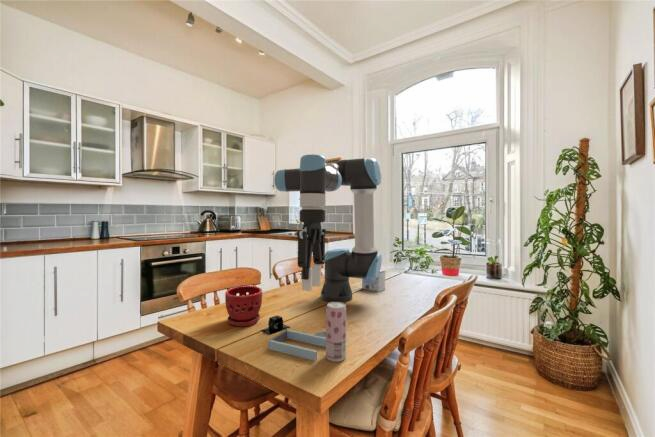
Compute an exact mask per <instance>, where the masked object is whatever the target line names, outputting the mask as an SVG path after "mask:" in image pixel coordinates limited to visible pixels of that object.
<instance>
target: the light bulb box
mask: <svg viewBox="0 0 655 437" xmlns="http://www.w3.org/2000/svg"><path fill="white" fill-rule="evenodd" d="M361 289H364V290H370V291H373V292H377V293H378V292H383V291H384V290H386V269H383V268H380V272H379V275H378V277H377V278H376V279H367V280H366V279H361Z"/></svg>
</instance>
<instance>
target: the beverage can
mask: <svg viewBox="0 0 655 437" xmlns="http://www.w3.org/2000/svg"><path fill="white" fill-rule="evenodd" d="M346 306H347V305H346V304H345V302H328V303H327V304H326V308H325V309H326V310H325V311H326V312H325V313H326V315H325V316H326V317H325V326H326V327H325V332H326V347H325V358H326V359H327V360H328V361H330V362H335V363H338V362H342V361H344V360H345V359H346V357H347V307H346Z"/></svg>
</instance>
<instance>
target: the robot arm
mask: <svg viewBox="0 0 655 437" xmlns="http://www.w3.org/2000/svg"><path fill="white" fill-rule="evenodd" d="M299 159H300V161H299V168H288V169H286V168H284V169H278V170H277V171H276V173H275V174H274V179H273V180H274V186H275V188H276V189H277V191H279V192H286V193H289V192H299V198H298V200H299V207H300V208H301V209H300V210H299V222H300V223H303V225H302V230H297V232H296V236H297V266H298V268H301V270H302V272H301V273H302V274H301V275H302V277H301V278H302V279H301V280H302V283H301V291H308V292H312V290H313V287H321V286H322V288H321V291H320V300H323V301H325V302H328V303H331V302H341V303H345V302H349V301H351V300H353V291H352V288H351V285H350V278H353V279H361V280H362V279H366V280H367V279H376V278H377V277H378V275H379V272H380V269H382V262H383V261H382V259H383V258H382V254H380V253H378V249H377V247H376V246H375V230H374V229H375V228H374V227H375V226H374V225H375V223H374V222H375V221H374V218H375V217H374V193H375V192H376V191H377V189H378V187H377V186H380V185H381V182H382V175H381V174H382V173H381V168H380V165H379V163H378V161H377V159H375V158H372V157H371V158H370V157H363V158H352V159H341V160H337V161H331V162H326V161H327V160H326V156H324V155H321V154H313V153H312V154H305V155H302V156H301V157H300V158H299ZM342 186H344V187H345V186H346V187H347V186H350V188H349V190H350V191H351V193H352V194H353V212H354V214H353V216H354V217H353V218H354V219H353V220H354V247H352V249H351V252H350V248H336V249H331V250H330V249H329V250H327V251H326V233H327V232H326V231H327V230H326V229H325V228H322V224H321V223H325V221H326V210H325V209H324V208H326V192H335V191H337V190H338V189H340V187H342ZM312 260H313V263H312ZM322 265H324V283H323V285H322Z"/></svg>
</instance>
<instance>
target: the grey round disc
mask: <svg viewBox="0 0 655 437" xmlns="http://www.w3.org/2000/svg"><path fill="white" fill-rule="evenodd" d="M313 335H315V336H320V337H325V338H326V331H318V332H316V333H314V334H313Z"/></svg>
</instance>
